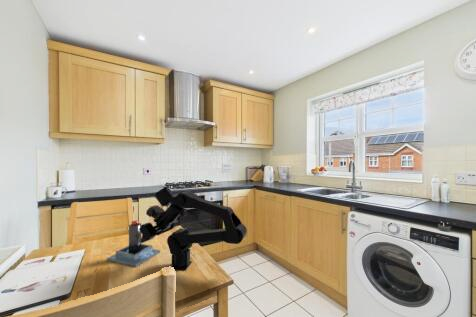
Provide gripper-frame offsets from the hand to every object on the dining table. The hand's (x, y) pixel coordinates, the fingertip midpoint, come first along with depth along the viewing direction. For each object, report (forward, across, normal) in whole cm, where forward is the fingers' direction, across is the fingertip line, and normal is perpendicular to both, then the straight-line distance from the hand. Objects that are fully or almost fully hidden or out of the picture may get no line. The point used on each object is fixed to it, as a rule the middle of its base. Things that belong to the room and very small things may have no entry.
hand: (149, 238), depth 90 cm
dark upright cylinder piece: (+11, 0, 0) cm, 11 cm away
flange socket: (+12, 0, +1) cm, 12 cm away
